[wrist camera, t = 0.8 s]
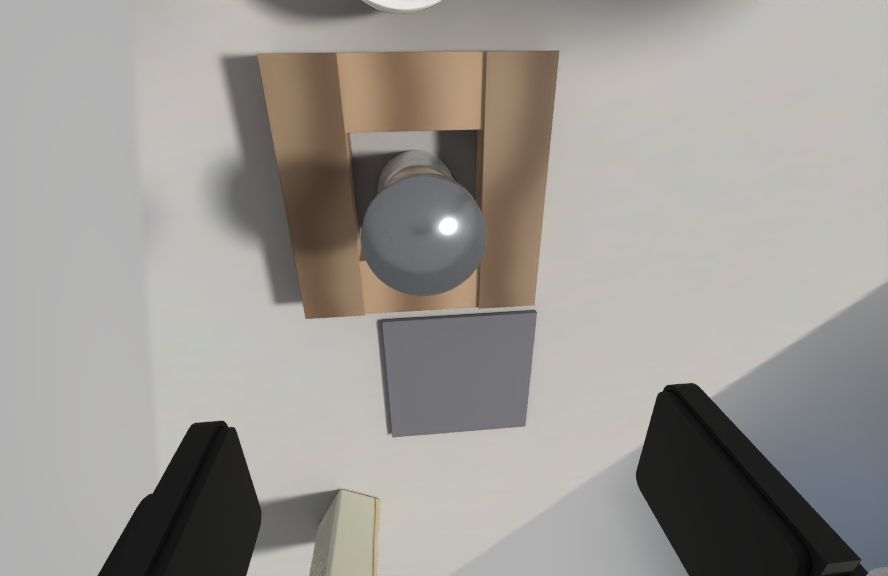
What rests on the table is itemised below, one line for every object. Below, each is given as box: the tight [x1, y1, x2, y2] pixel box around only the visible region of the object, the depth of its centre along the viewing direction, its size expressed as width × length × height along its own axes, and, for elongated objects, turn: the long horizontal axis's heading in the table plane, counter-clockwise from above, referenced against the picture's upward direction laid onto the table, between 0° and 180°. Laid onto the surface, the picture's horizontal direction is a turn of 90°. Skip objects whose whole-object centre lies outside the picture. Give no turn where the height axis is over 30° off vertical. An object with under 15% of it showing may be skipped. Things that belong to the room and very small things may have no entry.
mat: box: [382, 310, 537, 437], centre depth 37 cm, size 12×12×1 cm
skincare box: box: [309, 489, 380, 576], centre depth 38 cm, size 6×4×12 cm
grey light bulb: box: [361, 150, 487, 296], centre depth 25 cm, size 6×6×10 cm
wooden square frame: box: [257, 51, 559, 319], centre depth 28 cm, size 16×16×3 cm
